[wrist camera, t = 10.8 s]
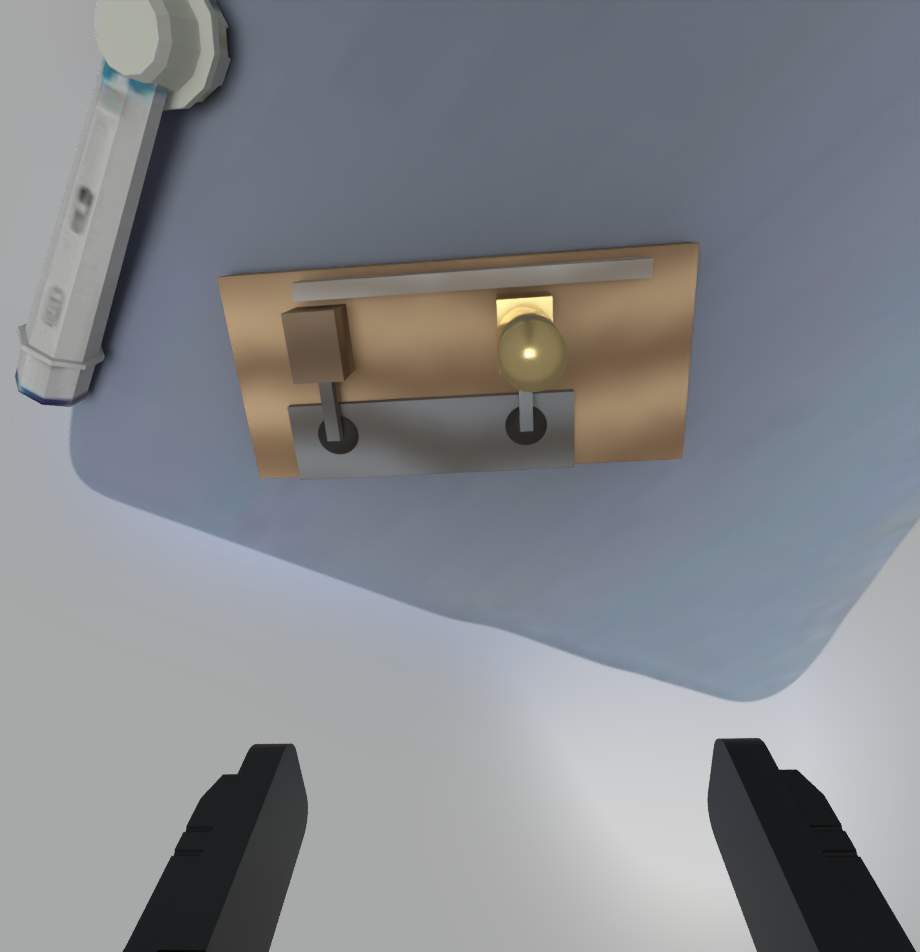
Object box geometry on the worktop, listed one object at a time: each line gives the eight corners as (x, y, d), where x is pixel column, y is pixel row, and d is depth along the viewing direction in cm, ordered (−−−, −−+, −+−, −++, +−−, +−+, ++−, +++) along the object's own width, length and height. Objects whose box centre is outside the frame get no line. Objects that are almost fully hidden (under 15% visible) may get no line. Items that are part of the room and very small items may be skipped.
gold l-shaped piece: (494, 294, 35) (495, 315, 27) (549, 290, 35) (568, 310, 26) (500, 424, 38) (503, 480, 30) (550, 421, 38) (567, 477, 29)
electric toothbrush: (-15, 377, 37) (71, -94, 25) (61, 345, 42) (160, -50, 31) (66, 422, 38) (187, -13, 26) (130, 384, 43) (252, 15, 32)
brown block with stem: (296, 307, 36) (280, 313, 33) (345, 303, 36) (333, 310, 33) (318, 433, 39) (305, 448, 36) (363, 430, 39) (353, 446, 36)
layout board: (230, 274, 37) (201, 280, 34) (688, 242, 35) (711, 244, 32) (270, 467, 42) (249, 490, 38) (673, 448, 40) (691, 470, 37)
